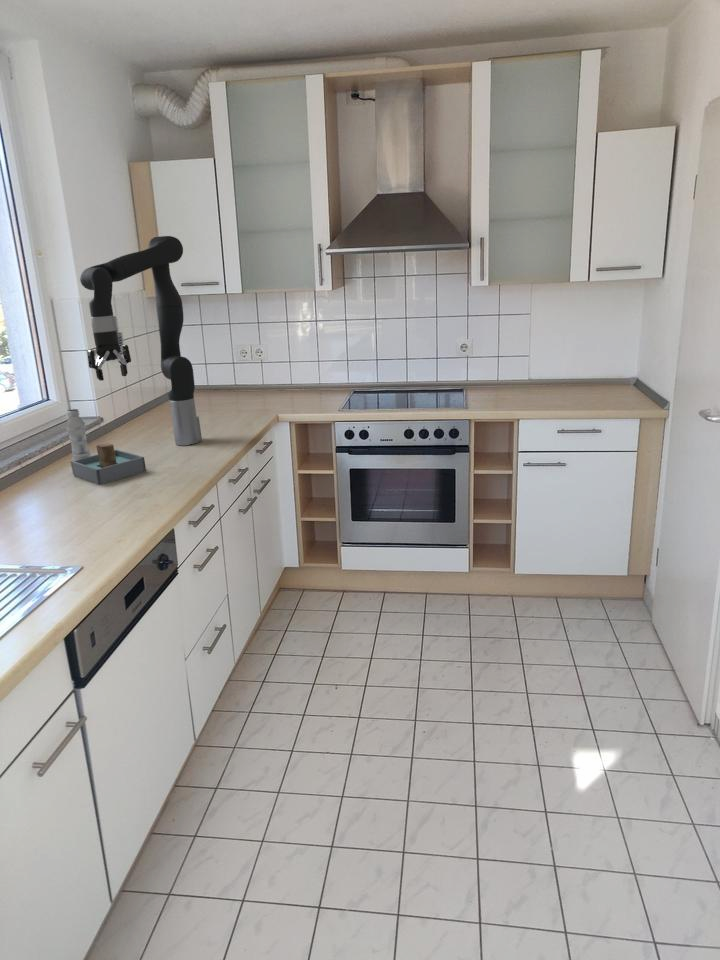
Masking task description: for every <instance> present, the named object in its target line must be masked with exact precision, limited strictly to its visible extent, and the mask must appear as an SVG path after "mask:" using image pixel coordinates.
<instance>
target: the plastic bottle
mask: <svg viewBox="0 0 720 960" xmlns="http://www.w3.org/2000/svg"><path fill="white" fill-rule="evenodd" d="M67 417H68V419H67V420H66V424H65V429H66V431H67V435H68V436H69V441H70V445H71V461H75V460H79V459H82V458H86V457H90V456H92V454H91V451H90V448H89V446H88V445H89V444H88V441H87V440H88V439H87V432H86V430H87V429H86V422H85V421H84V419H83V418H82V417H80V411H79V409H78V408H72V409H68V410H67Z"/></svg>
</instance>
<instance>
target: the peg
mask: <svg viewBox="0 0 720 960" xmlns="http://www.w3.org/2000/svg"><path fill="white" fill-rule="evenodd" d="M114 450H115V447H114V444H113V443H109V442H105V443H101V444H96V452H97V455H98V457H99V463H100V467H101V468H104V467H107V466H111V465H114V464H117V463H116V457H115V452H114Z"/></svg>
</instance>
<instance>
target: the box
mask: <svg viewBox="0 0 720 960" xmlns="http://www.w3.org/2000/svg"><path fill="white" fill-rule="evenodd" d="M114 452H115V457H116V463H117V464H114V465H111V466H107V467H104V468H101V467H100V463H99V457H98V454H94V455H91V456H90V457H86V458H82V459H79V460H75V461H72V460H71V461H70V465H71V469H72V476H73V475H74V476H73V477H76V478H78V477H79V479H81V480H84V481H87V482H90V483H92V482H93V484H95V483H96V484H95V485H98V484H99V485H98V486H101V485H103V483H104V484H108V483H111V482H113V481H114V480H115V481H117V479H118V480H121V479H120V478H122V479H125V478H128V477H131V476H130V475H132V476H134V474H135V475H139V474H142V473H145V472H144V471H146V472H147V467H146V462H145V461H146V460H145V456H142V455H139V454H138V455H137V454H135V453H131V452H127V451H125V450H124V451H123V450H120V449H114ZM141 472H142V473H141ZM138 473H139V474H138ZM127 476H128V477H127ZM124 477H125V478H124ZM110 481H111V482H110ZM115 481H114V482H115ZM107 482H108V483H107ZM100 484H101V485H100Z"/></svg>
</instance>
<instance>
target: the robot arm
mask: <svg viewBox="0 0 720 960" xmlns="http://www.w3.org/2000/svg"><path fill="white" fill-rule="evenodd" d="M183 253H184V246H183V244H182V242H181V241H180V239H178V238H177V237H176V236H171V235H161V236H155V237H152V238H151V239H150V240H149V243H148V247H147V248H146V249H144V250H140V251H135V252H131V253H127V254H124V255H121V256H119V257H116V258H114V259H111V260H110V261H107V262H104V263H101V264H95V265H92V266H90V267H87V268H85V269H84V270H83V271H82V272H81V274H80V276H79V282H80V284H81V285H82V287H84V288H85V289H87V290H89V291H93V298H91V299H90V300H89V302H88V306H89V313H90V317H91V328H92V335H93V338H94V344H95V349H87V351H86V354H87V360H88V361H87V362H88V363H87V364H88V367H89V369H94V370H95V375H96V379H98V380H99V381H104V380H105V379H104V374H103V373H104V372H103V365H104V364H105V362H110V361H111V360H112V361H117V362H118V363H119V364H120V365H119V366H120V372H121V376H122V377H127V375H128V367H127V366H128V365H127V364H129V363H131V362H132V358H131V357H132V356H131V354H130V350H129V349H130V347H129V345H128V344H122V345H119V337H118V336H119V335H118V330H117V324H116V321H115V320H116V319H115V315H114V312H113V306H112V298H113V283H117V282H121V281H123V280H126V279H128V278H130V277H133V276H136V275H137V274H140V273H141V272H144V271H147V270H149V269H151V273H152V278H153V279H152V280H153V285H154V294H155V301H156V303H155V305H156V314H157V321H158V331H159V339H160V340H159V341H160V369H161V372H162V374H163V376H164V377H165V379H167V380H170V383H171V389H170V391H169V392H168V396H167V397H168V402H169V407H170V408H169V410H170V416H171V421H172V429H173V436H174V442H175V445H177V446H191V445H190V444H192V445H195V443H196V444H198V443H200V442H202V441H203V437H202V430H201V423H200V417H199V416H197V410H196V409H197V408H196V403H195V401H196V400H195V394H194V393H195V389H196V388H195V377H194V375H195V374H194V369H193V365H192V363H191V361H190V360H189V359H188V358H187V357H184V356H182V354H181V348H180V347H181V346H180V337H181V334H182V330H183V325H184V309H183V308H184V306H183V301H182V298H181V294H180V293H179V290H177V288H176V286H175V284H174V282H173V280H172V276H171V270H170V264H174V263H176V262H179V260H181V258H182V256H183ZM120 351H121V352H122V355H121V354H120ZM96 356H97V358H96ZM199 441H200V442H199Z"/></svg>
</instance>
